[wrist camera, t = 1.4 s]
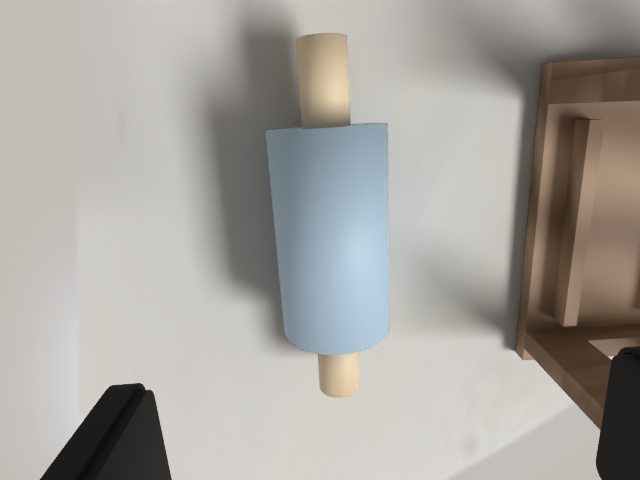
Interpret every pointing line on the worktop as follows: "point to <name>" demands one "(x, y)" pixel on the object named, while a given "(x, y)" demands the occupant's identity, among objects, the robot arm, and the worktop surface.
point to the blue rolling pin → (331, 219)
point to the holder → (583, 227)
